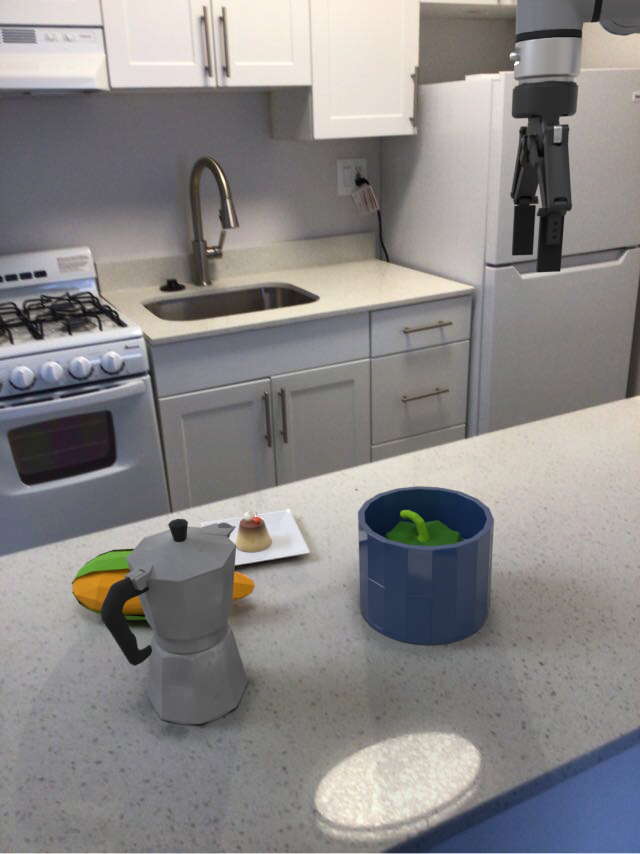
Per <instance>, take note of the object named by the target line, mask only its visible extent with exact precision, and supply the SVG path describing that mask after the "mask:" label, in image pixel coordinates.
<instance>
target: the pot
mask: <svg viewBox="0 0 640 854" xmlns="http://www.w3.org/2000/svg"><path fill="white" fill-rule="evenodd" d="M403 510H410V511H412V512H415V513H417V514H418V515H419V516H420V517H421V518H422V519H423V520H424V522H430V521H436V520H439V521H440V522H441V523H443V524H444V525H445V526H447V527H448V528H449V529H451V530H453V531H456V532H459V533H460V535H461V537H462V540H463V541H461V542H458V543H455V544H448V545H439V546H419V545H408V544H404V543H400V542H396V541H392V540H388V539H386V538H384V537H385V535H386V533H389V532H391V531H392V529H393V528H394V527H395V526H396V525H397V524H398V523H399V522H400V521H402V522H409V523H414V522H413V521H412V520H410V519H402V517H401V516H400V512H401V511H403ZM414 524H415V523H414ZM494 527H495V518H494V516H493V514H492V511H491V509H490V507H488V506H487V505H486V504H485V503H484V502H482V501H481V500H480V499H479V498H477V497H475V496H472V495H470V494H467V493H465V492H463V491H460V490H455V489H451V488H446V487H441V486H422V485H421V486H420V485H418V486H416V485H415V486H406V487H398V488H394V489H393V488H392V489H390V490H387V491H383V492H380V493H377V494H375V495H373V496H372V497H370V498H369V499H367V500H365V501H364V502H363V504H362V505H361V506H360V508H359V509H358V511H357V531H358V533H357V535H358V537H357V538H358V572H359V573H358V577H359V578H358V579H359V580H358V581H359V607H360V612H361V615H362V617H363V618H364V620H365V621H366V623H367V624H368V625H369V626H370V627H371V628H373V630H375V631H377V632H378V633H380V634H382V635H384V636H385V637H387V638H390V639H393V640H394V641H395V640H396V641H399V642H402V643H407V644H412V645H421V646H435V645H437V646H438V645H446V644H452V643H454V642H458V641H461V640H465V639H466V638H468V637H470V636H472V635H474V634H475V633H477V632H478V631H479V630H480V629H481V628H482V627H484V625H485V623H486V621H487V619H488V617H489V612H490V611H489V610H490V606H491V594H492V593H491V592H492V591H491V590H492V569H493V551H494V550H493V547H494V532H495V531H494V529H495V528H494Z"/></svg>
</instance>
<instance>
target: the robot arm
mask: <svg viewBox="0 0 640 854" xmlns="http://www.w3.org/2000/svg"><path fill="white" fill-rule="evenodd" d="M515 11H516V12H515V13H516V14H515V40H514V41H515V47H514V51H512V52H510V54H509V60H510V61H511V62H514V65H513V79H514V80H515V81H518V85H517V84H516V85H514V88H512V94H511V95H512V97H511V116H512V118H513V119H516V120H517V119H518V120H519V119H527V125H525V126H523V125H521V126H520V127H519V130H518V134H519V136H518V146H517V153H516V154H517V155H516V160H515V166H514V172H513V176H512V177H513V178H512V184H511V191H510V193H509V194H510V198H511V199H512V202H513V221H512V240H511V241H512V243H511V256H533V255H534V241H535V227H536V226H535V225H536V217H539V218H538V219H539V220H538V221H539V222H538V233H537V234H538V236H537V249H536V250H537V252H536V267H535V272H536V273H558V272H559V273H560V272H561V270H562V268H561V267H562V256H563V241H564V230H565V229H564V228H565V217H566V215H567V212H571V211H572V208H573V199H572V185H571V169H570V168H571V167H570V153H569V151H570V150H569V137H570V136H569V135H570V125H569V124H568V123H567V124H560V118H563V117H564V118H565V117H573V116H575V115H576V113H577V111H578V110H577V109H578V96H579V84H578V83H577V82H576V81H575V78H577V77H579V76H580V74H581V64H582V51H583V27H584V24H585V23H592V24H593V23H599V25H600V27H601V28H602V29H603V30H605V31H606V32H607V33H609V34H611V35H615V36H621V37H626V36H630V35H633V34H637V35H640V0H516V10H515ZM538 188H539V194H540V202H539V196H538V195H536V194H537V192H538V191H537V190H538ZM540 203H541V207H539V208H538V209H537V205H539V204H540ZM536 210H537V212H536Z"/></svg>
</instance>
